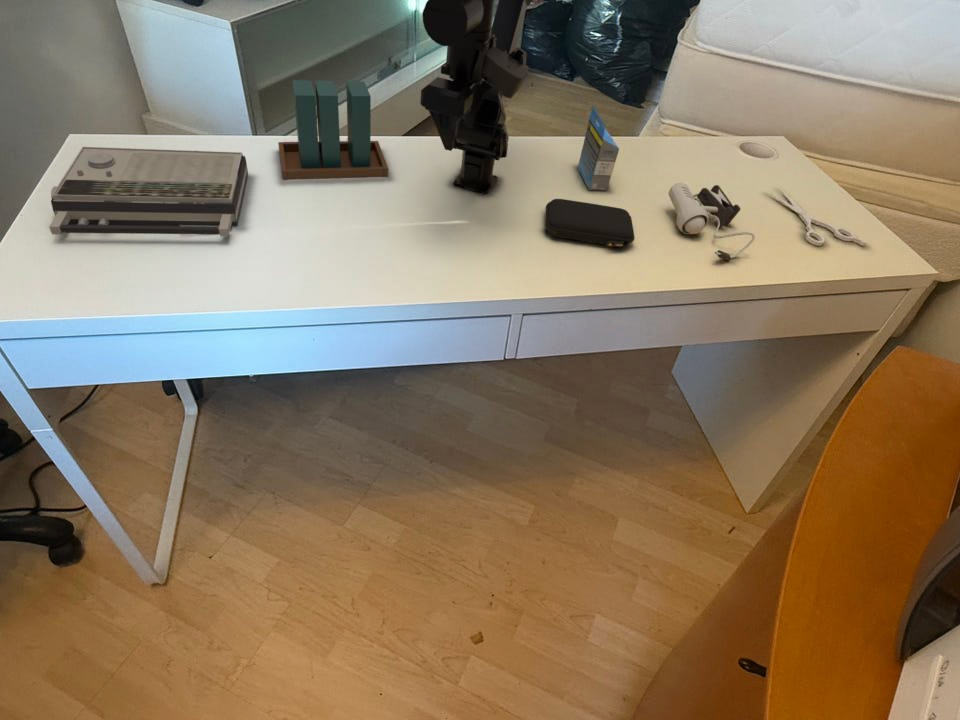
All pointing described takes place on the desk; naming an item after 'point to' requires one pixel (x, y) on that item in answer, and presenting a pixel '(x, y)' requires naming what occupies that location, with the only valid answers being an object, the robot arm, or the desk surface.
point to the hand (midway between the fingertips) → (459, 138)
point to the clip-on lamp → (704, 212)
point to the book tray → (294, 170)
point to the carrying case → (589, 222)
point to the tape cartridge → (597, 154)
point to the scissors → (809, 219)
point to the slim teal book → (358, 123)
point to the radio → (150, 192)
